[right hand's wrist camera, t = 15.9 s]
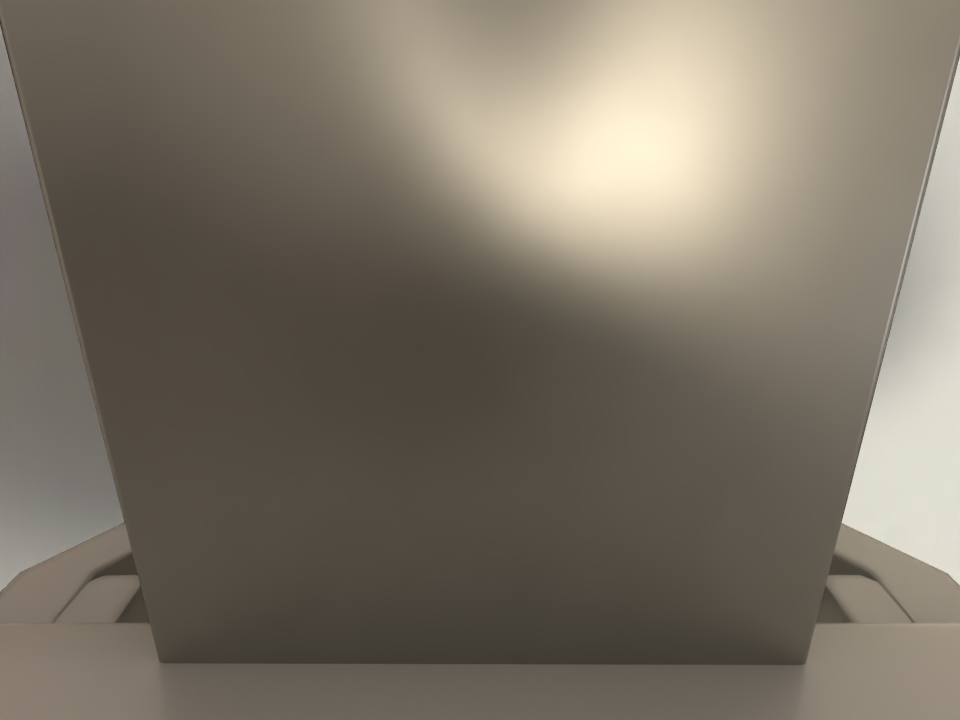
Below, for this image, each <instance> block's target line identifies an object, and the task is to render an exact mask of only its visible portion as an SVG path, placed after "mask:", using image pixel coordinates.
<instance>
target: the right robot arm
mask: <svg viewBox="0 0 960 720" xmlns="http://www.w3.org/2000/svg"><path fill="white" fill-rule="evenodd" d="M0 720H960V585H959V584H958V583H957V582H956V581H955V580H954V579H953V578H952V577H951V576H950V575H949V574H947V573H945V572H943V571H941V570H939V569H937V568H935V567H933V566H931V565H929V564H926V563H924V562H922V561H920V560H918V559H916V558H914V557H912V556H910V555H908V554H905V553H903V552H901V551H899V550H897V549H895V548H893V547H891V546H889V545H887V544H884V543H882V542H880V541H878V540H876V539H874V538H872V537H870V536H868V535H866V534H863V533H861V532H859V531H857V530H855V529H853V528H851V527H849V526H847V525H845V524H842V523H841V526H840V530H839V534H838V538H837V542H836V546H835V550H834V554H833V558H832V561H831V565H830V569H829V573H828V577H827V581H826V585H825V589H824V593H823V597H822V601H821V605H820V609H819V613H818V617H817V621H816V625H815V628H814V632H813V636H812V640H811V644H810V648H809V652H808V656H807V660H806V664H803V665H589V664H194V663H161V662H159V658H158V654H157V650H156V646H155V642H154V638H153V634H152V630H151V626H150V622H149V618H148V614H147V610H146V606H145V602H144V598H143V594H142V590H141V586H140V582H139V578H138V574H137V570H136V566H135V562H134V558H133V554H132V550H131V546H130V542H129V538H128V534H127V530H126V526H125V523H123V524H121V525H119V526H116V527H114V528H112V529H110V530H108V531H106V532H104V533H102V534H100V535H98V536H96V537H93V538H91V539H89V540H87V541H85V542H83V543H81V544H79V545H77V546H75V547H73V548H70V549H68V550H66V551H64V552H62V553H60V554H58V555H56V556H54V557H52V558H50V559H47V560H45V561H43V562H41V563H39V564H37V565H35V566H33V567H31V568H29V569H27V570H24V571H22V572H20V573H19V574H18V575H17V576H16V577H15V578H14V579H13V580H12V581H11V582H10V583H9V584H8V585H7V586H6V587H5V588H4V589H3V590H2V591H1V592H0Z"/></svg>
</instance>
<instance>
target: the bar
mask: <svg viewBox="0 0 960 720" xmlns="http://www.w3.org/2000/svg"><path fill="white" fill-rule="evenodd" d="M0 25H1V29H2V33H3V37H4V41H5V45H6V49H7V53H8V57H9V61H10V65H11V69H12V73H13V77H14V81H15V85H16V89H17V93H18V97H19V101H20V105H21V109H22V113H23V117H24V121H25V125H26V129H27V133H28V137H29V141H30V145H31V149H32V153H33V157H34V162H35V166H36V170H37V174H38V178H39V182H40V186H41V190H42V194H43V198H44V202H45V206H46V210H47V214H48V218H49V222H50V226H51V230H52V234H53V238H54V242H55V246H56V250H57V254H58V258H59V262H60V266H61V270H62V274H63V278H64V282H65V286H66V290H67V294H68V298H69V302H70V306H71V310H72V314H73V318H74V322H75V326H76V330H77V334H78V338H79V342H80V346H81V350H82V354H83V358H84V362H85V366H86V370H87V374H88V378H89V382H90V386H91V390H92V394H93V398H94V402H95V406H96V410H97V414H98V418H99V422H100V426H101V430H102V434H103V438H104V442H105V446H106V450H107V454H108V458H109V462H110V466H111V470H112V474H113V478H114V482H115V486H116V490H117V494H118V498H119V502H120V506H121V510H122V514H123V518H124V522H125V526H126V530H127V534H128V538H129V542H130V546H131V550H132V554H133V558H134V562H135V566H136V570H137V574H138V578H139V582H140V586H141V590H142V594H143V598H144V602H145V606H146V610H147V614H148V618H149V622H150V626H151V630H152V634H153V638H154V642H155V646H156V650H157V654H158V658H159V662H161V663H194V664H589V665H803V664H806V660H807V656H808V652H809V648H810V644H811V640H812V636H813V632H814V628H815V625H816V621H817V617H818V613H819V609H820V605H821V601H822V597H823V593H824V589H825V585H826V581H827V577H828V573H829V569H830V565H831V561H832V558H833V554H834V550H835V546H836V542H837V538H838V534H839V530H840V526H841V522H842V518H843V514H844V510H845V506H846V502H847V498H848V494H849V491H850V487H851V483H852V479H853V475H854V471H855V467H856V463H857V459H858V455H859V451H860V447H861V443H862V439H863V435H864V431H865V427H866V424H867V420H868V416H869V412H870V408H871V404H872V400H873V396H874V392H875V388H876V384H877V380H878V376H879V372H880V368H881V364H882V361H883V357H884V353H885V349H886V345H887V341H888V337H889V333H890V329H891V325H892V321H893V317H894V313H895V309H896V305H897V301H898V297H899V294H900V290H901V286H902V282H903V278H904V274H905V270H906V266H907V262H908V258H909V254H910V250H911V246H912V242H913V238H914V234H915V230H916V227H917V223H918V219H919V215H920V211H921V207H922V203H923V199H924V195H925V191H926V187H927V183H928V179H929V175H930V171H931V167H932V163H933V160H934V156H935V152H936V148H937V144H938V140H939V136H940V132H941V128H942V124H943V120H944V116H945V112H946V108H947V104H948V100H949V96H950V93H951V89H952V85H953V81H954V77H955V73H956V69H957V65H958V61H959V57H960V0H0Z"/></svg>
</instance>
